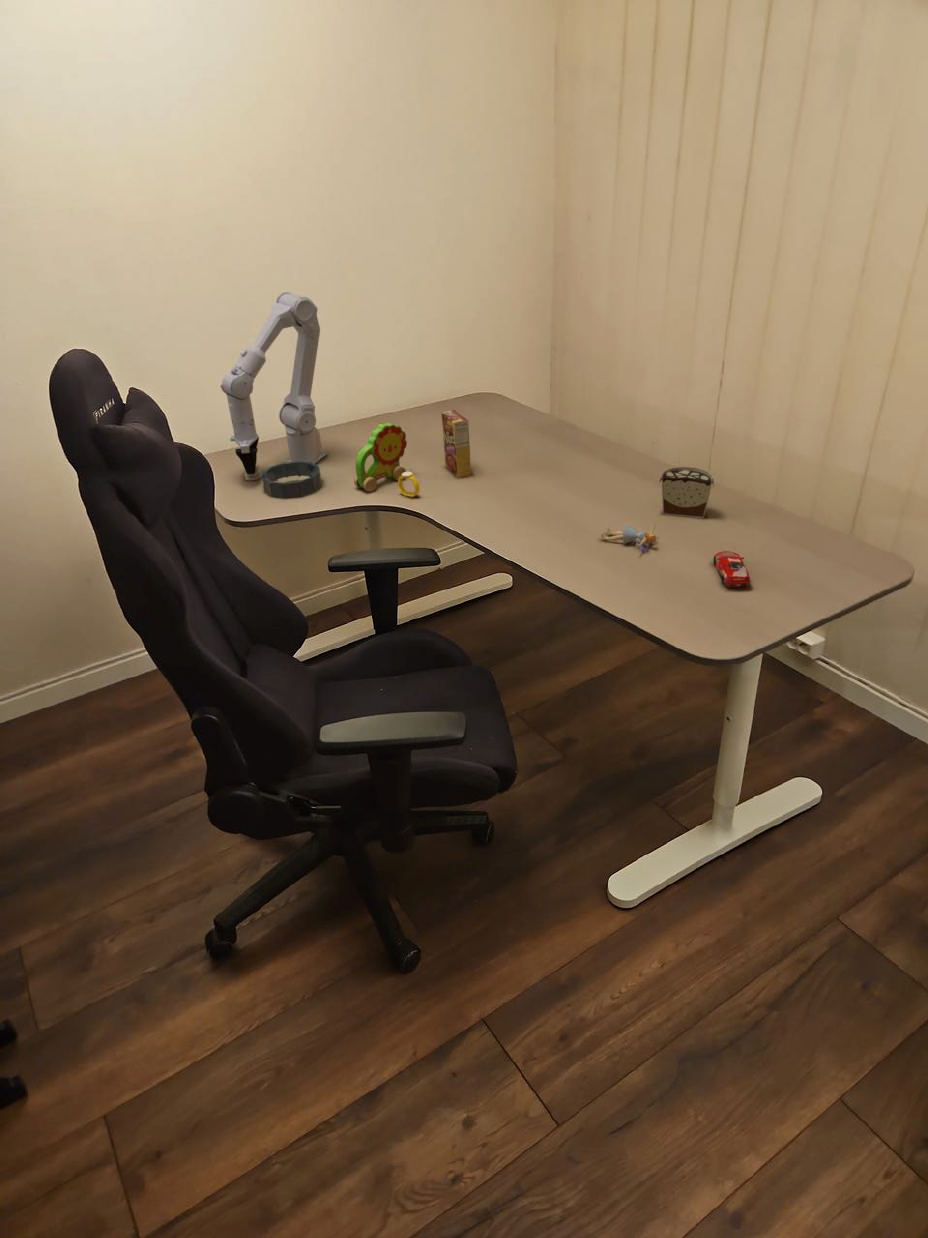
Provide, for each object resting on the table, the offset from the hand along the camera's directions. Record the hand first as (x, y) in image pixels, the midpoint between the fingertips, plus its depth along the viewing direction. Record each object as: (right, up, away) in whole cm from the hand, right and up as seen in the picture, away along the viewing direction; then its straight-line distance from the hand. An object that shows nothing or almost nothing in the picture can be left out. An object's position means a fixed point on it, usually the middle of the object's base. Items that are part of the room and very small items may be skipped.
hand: (251, 469), depth 236 cm
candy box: (+55, -1, 0) cm, 55 cm away
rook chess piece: (0, -2, +1) cm, 3 cm away
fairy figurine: (+93, -23, -39) cm, 104 cm away
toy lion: (+36, -4, -5) cm, 36 cm away
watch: (+43, -9, -13) cm, 46 cm away
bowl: (+12, -5, -5) cm, 14 cm away
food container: (+109, -15, -27) cm, 113 cm away
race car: (+112, -31, -53) cm, 128 cm away
